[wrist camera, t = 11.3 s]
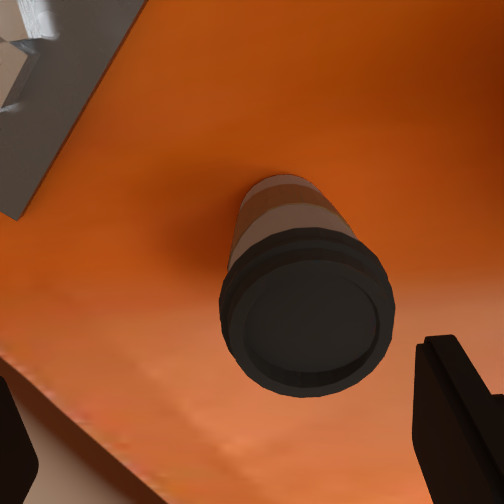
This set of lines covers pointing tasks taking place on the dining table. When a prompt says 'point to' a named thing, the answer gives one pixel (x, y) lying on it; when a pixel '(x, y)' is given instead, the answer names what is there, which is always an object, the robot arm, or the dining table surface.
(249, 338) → the coffee cup
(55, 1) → the hub plate
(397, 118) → the dining table surface
